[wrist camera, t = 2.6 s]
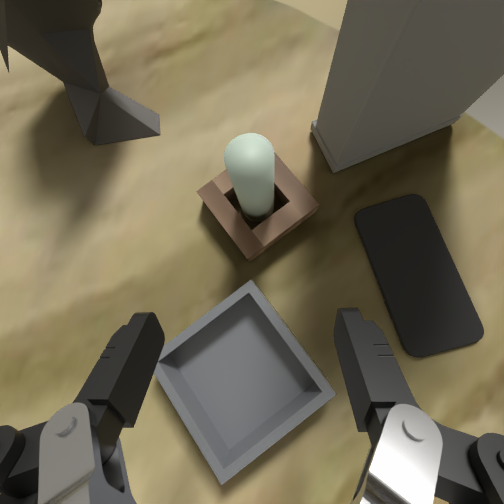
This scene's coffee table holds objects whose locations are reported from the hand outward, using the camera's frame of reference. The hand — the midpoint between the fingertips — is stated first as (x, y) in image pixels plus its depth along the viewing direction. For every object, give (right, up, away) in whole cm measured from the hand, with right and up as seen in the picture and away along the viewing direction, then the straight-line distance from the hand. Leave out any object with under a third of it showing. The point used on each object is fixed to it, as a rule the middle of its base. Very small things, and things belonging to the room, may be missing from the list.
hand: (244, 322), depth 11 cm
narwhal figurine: (-18, +24, +20) cm, 36 cm away
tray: (-1, -8, +13) cm, 15 cm away
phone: (+16, +1, +14) cm, 22 cm away
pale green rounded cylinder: (+1, +8, +16) cm, 18 cm away
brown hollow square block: (+1, +8, +16) cm, 18 cm away
